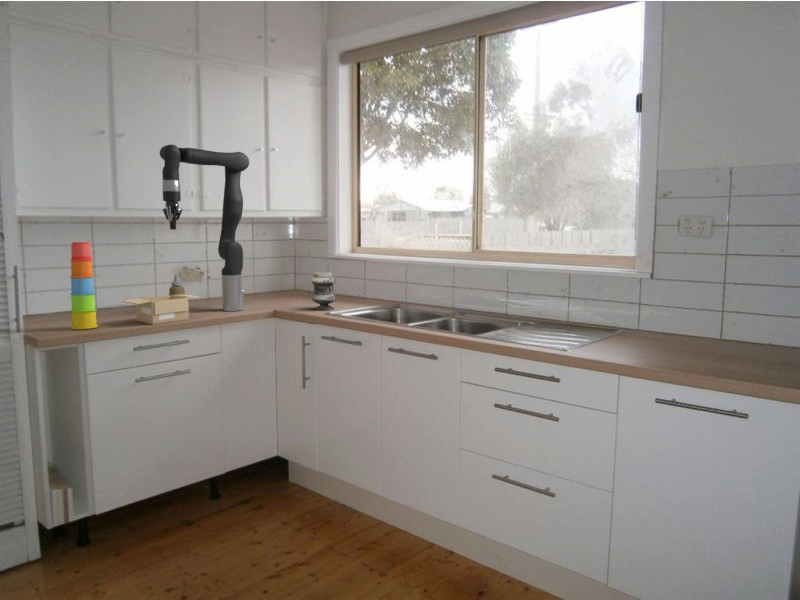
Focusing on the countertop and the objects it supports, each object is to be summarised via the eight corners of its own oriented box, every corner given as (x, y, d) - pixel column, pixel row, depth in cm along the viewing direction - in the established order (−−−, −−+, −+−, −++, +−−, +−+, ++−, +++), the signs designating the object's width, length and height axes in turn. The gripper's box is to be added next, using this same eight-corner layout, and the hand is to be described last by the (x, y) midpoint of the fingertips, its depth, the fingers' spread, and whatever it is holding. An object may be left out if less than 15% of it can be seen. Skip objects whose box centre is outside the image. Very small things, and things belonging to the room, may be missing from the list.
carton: (171, 316, 288) (170, 295, 287) (189, 320, 278) (188, 297, 277) (136, 321, 275) (135, 298, 274) (153, 325, 266) (152, 301, 265)
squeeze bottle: (181, 314, 295) (179, 275, 293) (165, 313, 297) (163, 275, 294) (190, 311, 303) (188, 274, 301) (174, 311, 305) (173, 273, 302)
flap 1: (135, 298, 273) (122, 300, 268) (149, 300, 265) (136, 303, 261) (135, 299, 273) (122, 301, 268) (150, 301, 265) (136, 304, 261)
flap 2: (173, 295, 286) (185, 295, 291) (188, 297, 278) (200, 297, 283) (173, 294, 286) (185, 294, 291) (188, 296, 278) (200, 296, 283)
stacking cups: (64, 328, 256) (59, 242, 252) (88, 325, 265) (83, 241, 261) (80, 331, 251) (74, 242, 247) (104, 327, 260) (99, 242, 255)
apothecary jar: (316, 307, 320) (315, 271, 318) (339, 307, 318) (339, 271, 316) (308, 310, 309) (307, 273, 306) (332, 311, 306) (331, 273, 304)
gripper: (187, 190, 284) (188, 229, 287) (171, 191, 293) (173, 229, 295) (171, 189, 279) (173, 229, 281) (156, 190, 287) (157, 229, 290)
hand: (173, 229), depth 288 cm, fingers closed
